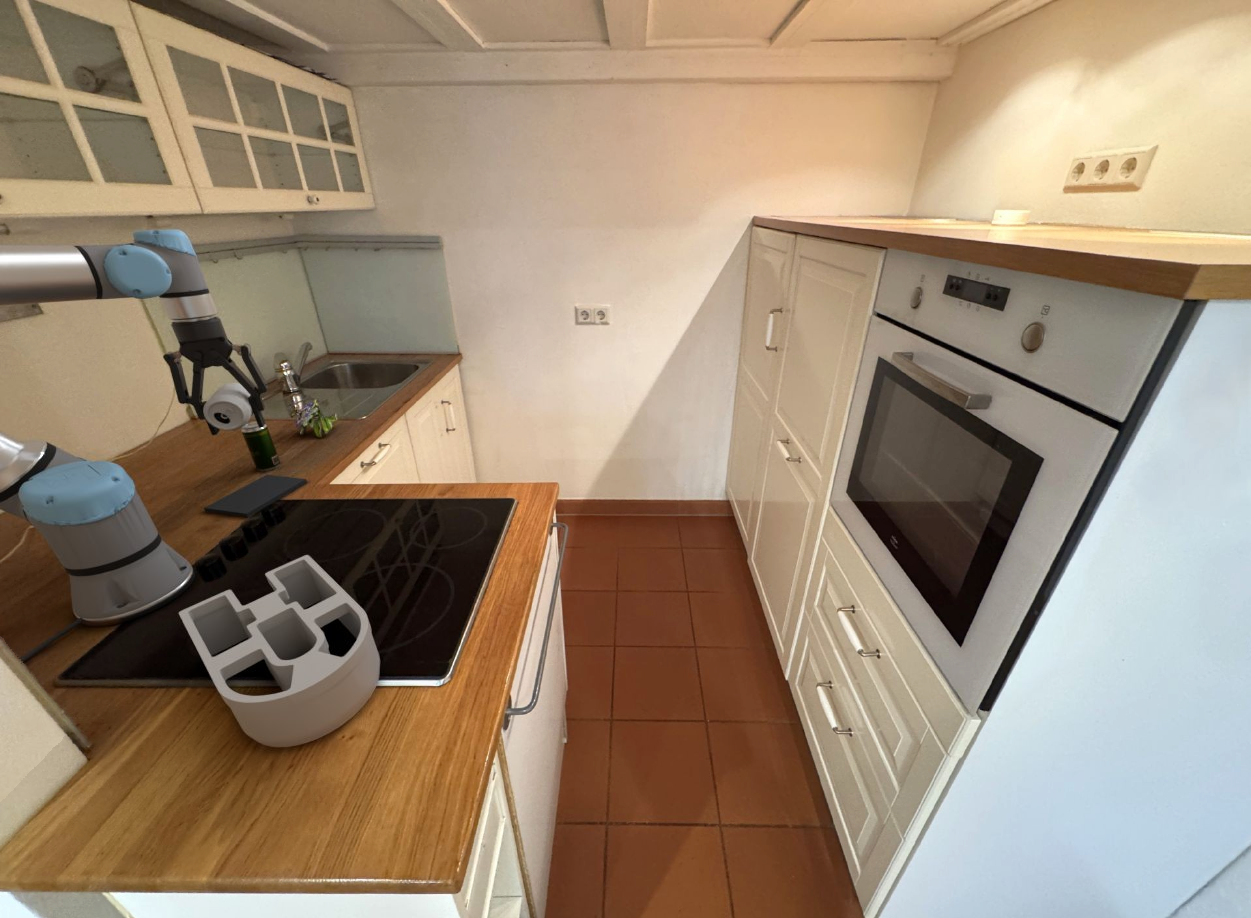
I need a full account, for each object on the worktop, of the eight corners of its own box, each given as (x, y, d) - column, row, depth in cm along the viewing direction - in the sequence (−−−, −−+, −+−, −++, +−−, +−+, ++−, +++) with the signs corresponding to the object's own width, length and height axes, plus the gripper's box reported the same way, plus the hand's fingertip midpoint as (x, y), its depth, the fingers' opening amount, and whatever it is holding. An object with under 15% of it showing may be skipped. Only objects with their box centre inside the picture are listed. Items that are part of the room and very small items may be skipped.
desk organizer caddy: (323, 596, 84) (307, 554, 80) (406, 684, 67) (391, 637, 64) (203, 657, 73) (178, 612, 69) (267, 781, 56) (238, 731, 52)
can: (207, 398, 106) (190, 416, 96) (233, 374, 107) (219, 389, 97) (242, 421, 111) (230, 440, 101) (267, 397, 111) (257, 414, 101)
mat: (247, 517, 108) (246, 513, 107) (205, 511, 110) (203, 507, 110) (307, 482, 121) (306, 478, 121) (267, 478, 124) (266, 474, 124)
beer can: (285, 461, 133) (269, 419, 127) (275, 470, 128) (259, 427, 122) (263, 463, 132) (246, 421, 127) (252, 473, 127) (235, 429, 122)
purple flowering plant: (310, 450, 152) (287, 417, 151) (345, 434, 157) (324, 401, 157) (306, 441, 142) (282, 405, 141) (344, 424, 148) (322, 389, 147)
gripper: (260, 310, 102) (297, 414, 112) (134, 321, 94) (185, 432, 104) (253, 315, 96) (292, 425, 106) (118, 328, 88) (174, 445, 98)
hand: (239, 428), depth 105 cm, fingers closed on can, 7 cm apart
